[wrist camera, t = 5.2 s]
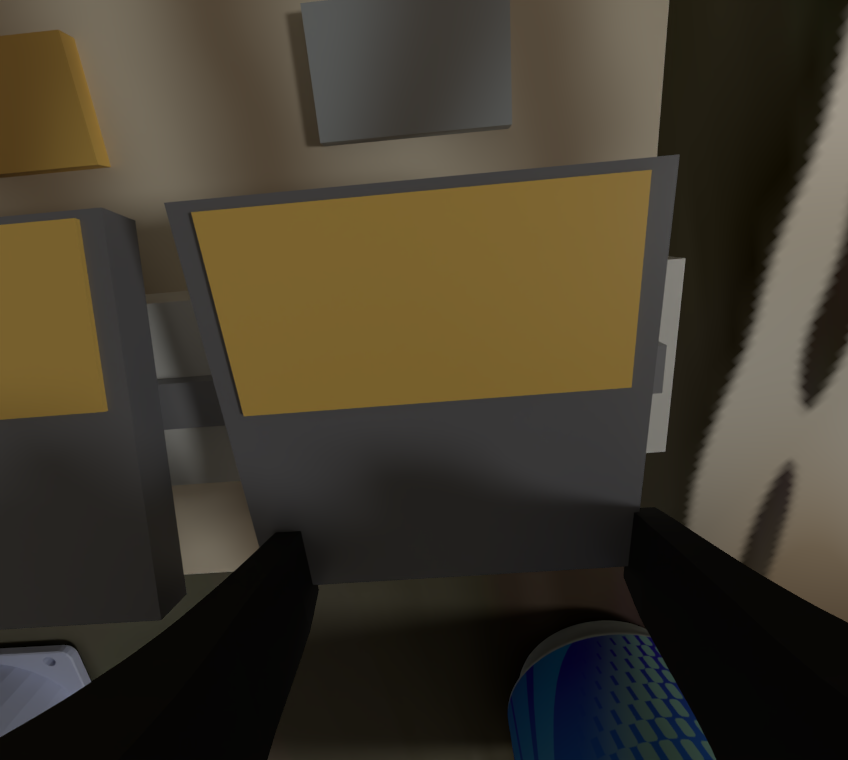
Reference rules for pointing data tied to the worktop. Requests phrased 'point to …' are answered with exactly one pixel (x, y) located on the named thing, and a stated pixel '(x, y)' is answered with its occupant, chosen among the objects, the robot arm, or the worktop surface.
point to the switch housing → (201, 413)
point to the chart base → (304, 118)
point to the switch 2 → (438, 363)
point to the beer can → (601, 700)
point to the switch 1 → (81, 429)
